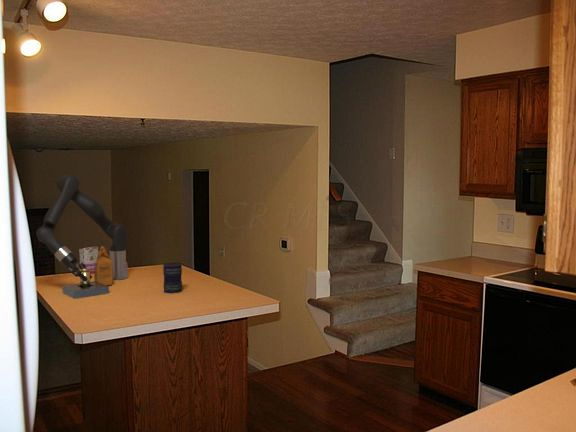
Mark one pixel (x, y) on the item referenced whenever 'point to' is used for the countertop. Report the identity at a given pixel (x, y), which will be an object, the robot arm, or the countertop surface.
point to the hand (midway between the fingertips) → (88, 279)
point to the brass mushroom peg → (87, 273)
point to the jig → (85, 290)
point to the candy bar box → (89, 257)
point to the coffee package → (103, 268)
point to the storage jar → (172, 277)
